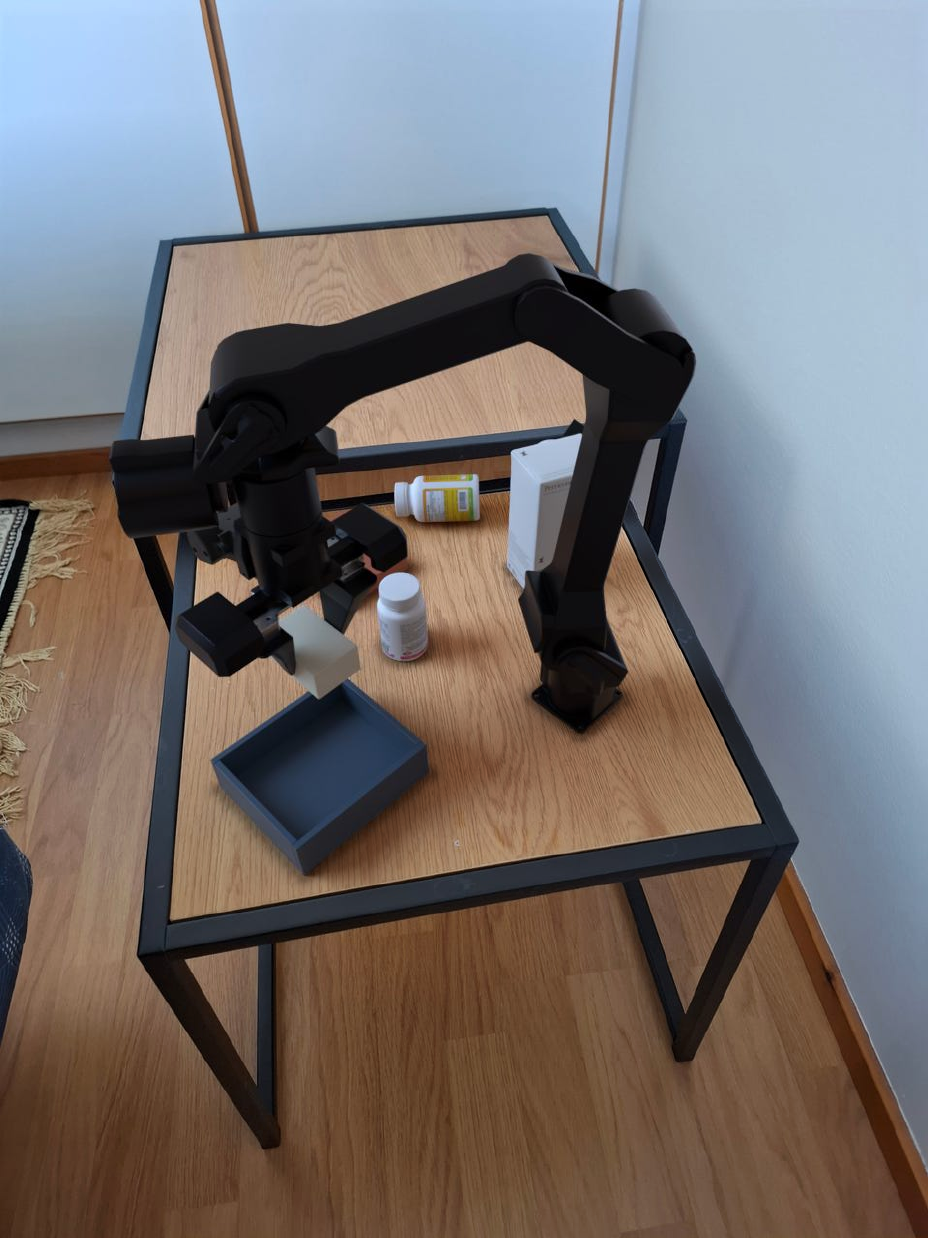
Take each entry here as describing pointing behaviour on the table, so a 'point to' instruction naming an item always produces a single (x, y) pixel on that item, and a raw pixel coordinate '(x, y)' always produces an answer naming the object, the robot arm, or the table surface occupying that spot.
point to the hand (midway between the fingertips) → (312, 655)
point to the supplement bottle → (439, 498)
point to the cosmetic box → (538, 502)
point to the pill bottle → (402, 617)
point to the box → (321, 771)
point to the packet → (319, 652)
